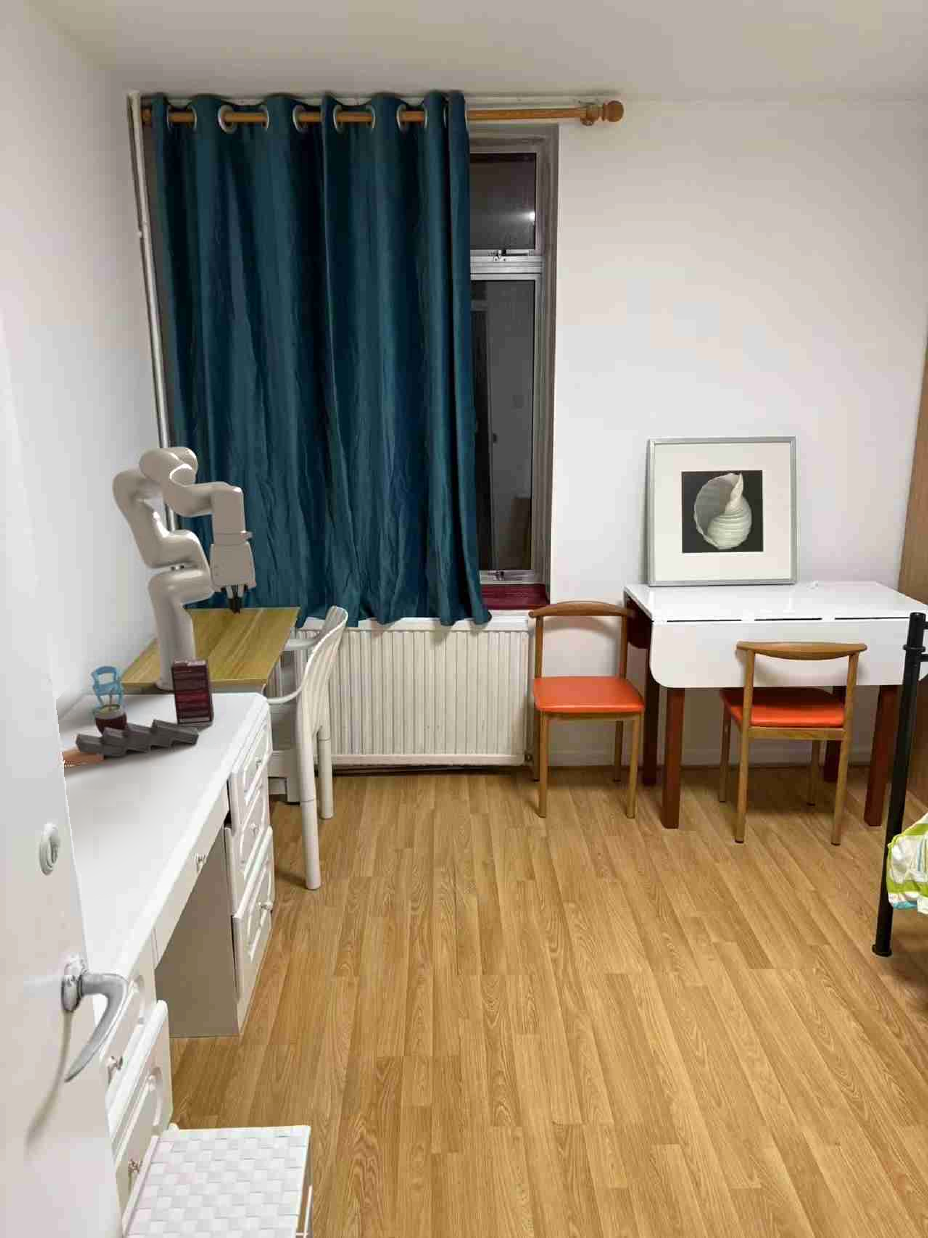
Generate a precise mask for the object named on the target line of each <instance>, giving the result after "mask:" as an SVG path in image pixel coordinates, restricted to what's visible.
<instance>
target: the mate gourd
mask: <svg viewBox="0 0 928 1238" xmlns="http://www.w3.org/2000/svg"><path fill="white" fill-rule="evenodd" d="M114 689H115V687H113V688H112V689H111V691H110V693H109V694H108V700H109V701H108V704H109V705H108V704H104V706H102V707H100V708H99V709H98V710H97V713H95V714H94V715H95V717H94V718H95V719H94V723H95V726H96V729H97V731H98V732H99V733H100V735H101V736H100V737H102V735H103V732H104V729H105V727H107V728H112V729H117V730H122V731H124V729H125V726H126V724H127V722H128V716H127V712H126V710H125V709H124V707H123V708H122V707H121V706H120V705H118V704H114V703H112V700H113V694H114V693H112V692H113V690H114Z"/></svg>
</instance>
